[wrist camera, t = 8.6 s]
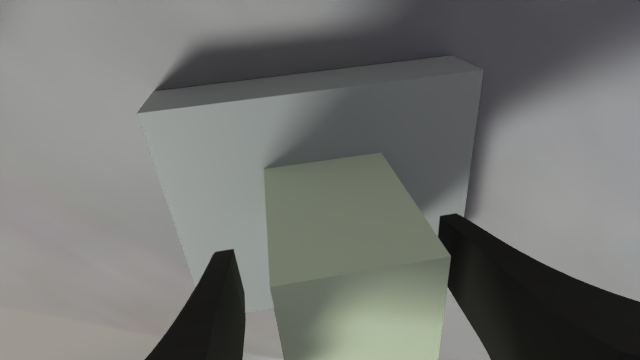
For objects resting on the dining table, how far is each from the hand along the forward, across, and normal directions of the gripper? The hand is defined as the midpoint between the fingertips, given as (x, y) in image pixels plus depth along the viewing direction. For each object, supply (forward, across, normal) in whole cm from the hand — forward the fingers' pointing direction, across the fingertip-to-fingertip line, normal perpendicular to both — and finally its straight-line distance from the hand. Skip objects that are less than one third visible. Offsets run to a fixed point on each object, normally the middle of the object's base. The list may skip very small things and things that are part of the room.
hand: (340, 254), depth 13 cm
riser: (+5, 0, 0) cm, 5 cm away
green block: (+3, 0, 0) cm, 3 cm away
